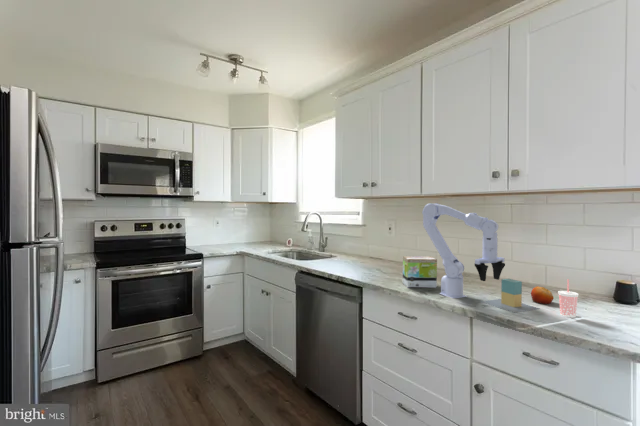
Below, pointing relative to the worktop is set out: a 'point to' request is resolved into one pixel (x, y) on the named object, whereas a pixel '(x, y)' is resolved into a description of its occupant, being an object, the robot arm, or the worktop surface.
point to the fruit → (541, 295)
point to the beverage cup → (568, 302)
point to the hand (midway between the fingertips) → (489, 279)
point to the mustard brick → (511, 299)
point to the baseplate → (512, 309)
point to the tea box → (419, 271)
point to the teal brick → (511, 286)
